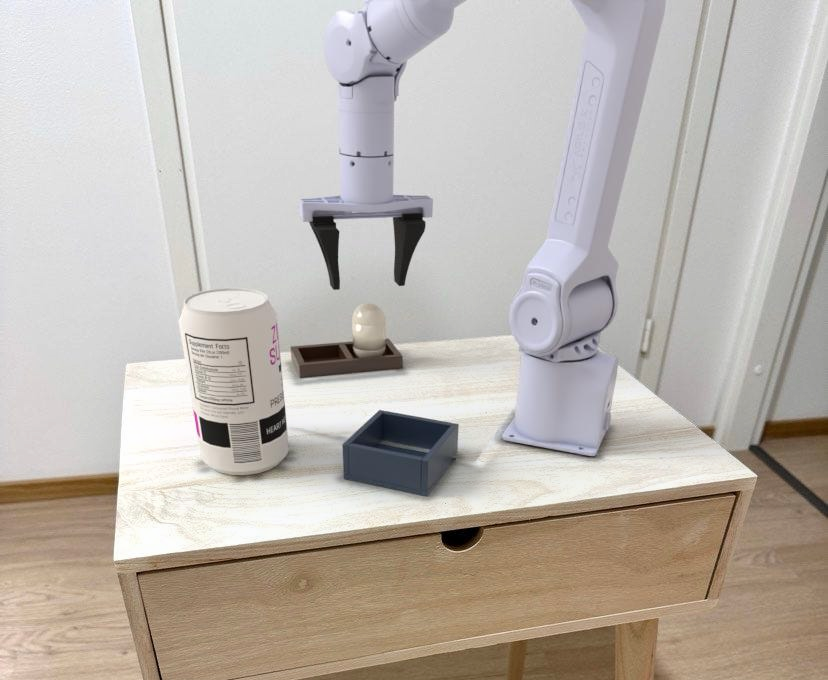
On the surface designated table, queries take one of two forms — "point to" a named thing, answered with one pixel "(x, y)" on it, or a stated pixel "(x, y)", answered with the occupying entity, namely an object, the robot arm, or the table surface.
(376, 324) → the cream capsule
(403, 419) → the bin
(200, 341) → the supplement can
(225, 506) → the table surface
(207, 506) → the table surface
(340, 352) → the tray
